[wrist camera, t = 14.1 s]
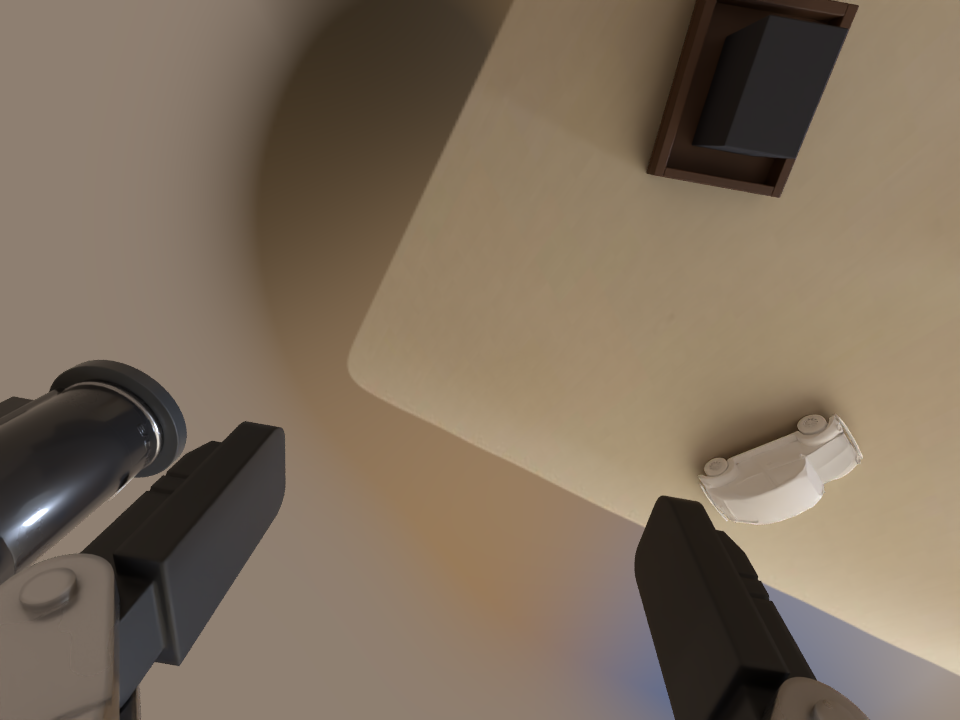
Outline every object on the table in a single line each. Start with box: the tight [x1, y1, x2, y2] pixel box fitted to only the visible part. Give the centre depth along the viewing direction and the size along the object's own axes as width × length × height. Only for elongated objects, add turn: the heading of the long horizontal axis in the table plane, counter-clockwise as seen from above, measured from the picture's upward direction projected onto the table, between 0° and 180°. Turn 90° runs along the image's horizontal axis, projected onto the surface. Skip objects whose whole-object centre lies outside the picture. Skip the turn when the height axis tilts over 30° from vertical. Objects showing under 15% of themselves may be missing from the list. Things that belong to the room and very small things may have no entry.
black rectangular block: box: [692, 15, 848, 159], centre depth 27 cm, size 4×6×6 cm, turn 171°
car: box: [697, 413, 863, 525], centre depth 39 cm, size 12×6×5 cm, turn 128°
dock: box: [647, 0, 859, 198], centre depth 29 cm, size 8×10×2 cm
